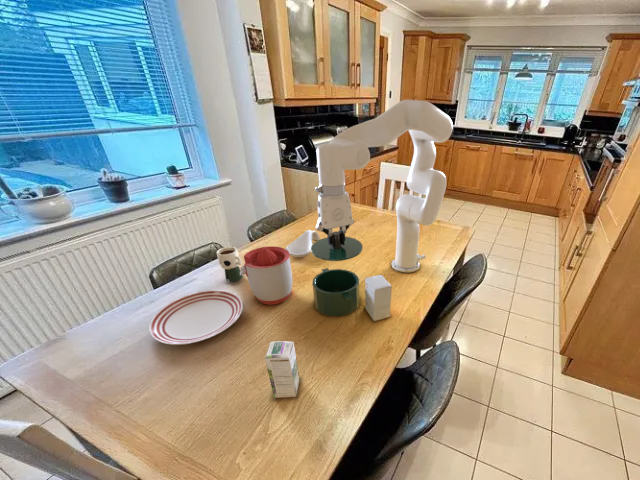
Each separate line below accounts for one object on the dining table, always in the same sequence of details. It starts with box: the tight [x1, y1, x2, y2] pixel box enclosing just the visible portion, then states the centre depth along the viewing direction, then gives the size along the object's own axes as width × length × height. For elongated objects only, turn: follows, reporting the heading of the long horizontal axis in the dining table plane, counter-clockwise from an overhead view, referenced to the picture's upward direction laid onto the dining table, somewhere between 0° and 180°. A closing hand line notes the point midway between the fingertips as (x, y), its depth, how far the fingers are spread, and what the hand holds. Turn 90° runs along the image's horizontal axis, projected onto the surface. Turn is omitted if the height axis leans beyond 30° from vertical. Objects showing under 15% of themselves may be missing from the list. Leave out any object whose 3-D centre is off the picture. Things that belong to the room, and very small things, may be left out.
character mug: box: [216, 246, 244, 283], centre depth 120 cm, size 11×7×13 cm, turn 70°
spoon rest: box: [285, 229, 321, 258], centre depth 146 cm, size 24×12×7 cm, turn 167°
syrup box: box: [264, 340, 300, 399], centre depth 77 cm, size 6×6×14 cm
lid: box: [310, 231, 364, 262], centre depth 101 cm, size 17×17×6 cm
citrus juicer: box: [240, 245, 293, 305], centre depth 109 cm, size 16×17×20 cm
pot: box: [312, 267, 361, 317], centre depth 110 cm, size 16×22×10 cm
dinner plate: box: [148, 289, 244, 346], centre depth 101 cm, size 28×27×3 cm
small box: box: [364, 274, 393, 322], centre depth 105 cm, size 8×6×13 cm
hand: (336, 244), depth 102 cm, fingers closed on lid, 2 cm apart
